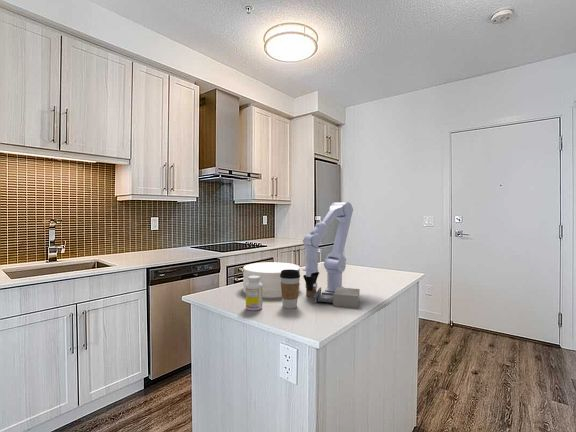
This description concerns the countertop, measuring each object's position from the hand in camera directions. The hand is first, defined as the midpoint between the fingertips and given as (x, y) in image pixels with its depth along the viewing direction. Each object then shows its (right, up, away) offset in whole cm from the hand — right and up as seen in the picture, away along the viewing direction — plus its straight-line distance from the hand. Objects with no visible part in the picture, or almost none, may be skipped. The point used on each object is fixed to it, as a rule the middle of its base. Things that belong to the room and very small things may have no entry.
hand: (311, 288), depth 145 cm
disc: (0, +1, 0) cm, 1 cm away
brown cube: (0, -3, 0) cm, 3 cm away
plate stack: (-19, -3, +10) cm, 22 cm away
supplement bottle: (-25, -3, -20) cm, 32 cm away
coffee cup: (-10, -3, -17) cm, 20 cm away
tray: (+7, -3, -9) cm, 11 cm away
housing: (+14, -3, -11) cm, 18 cm away
